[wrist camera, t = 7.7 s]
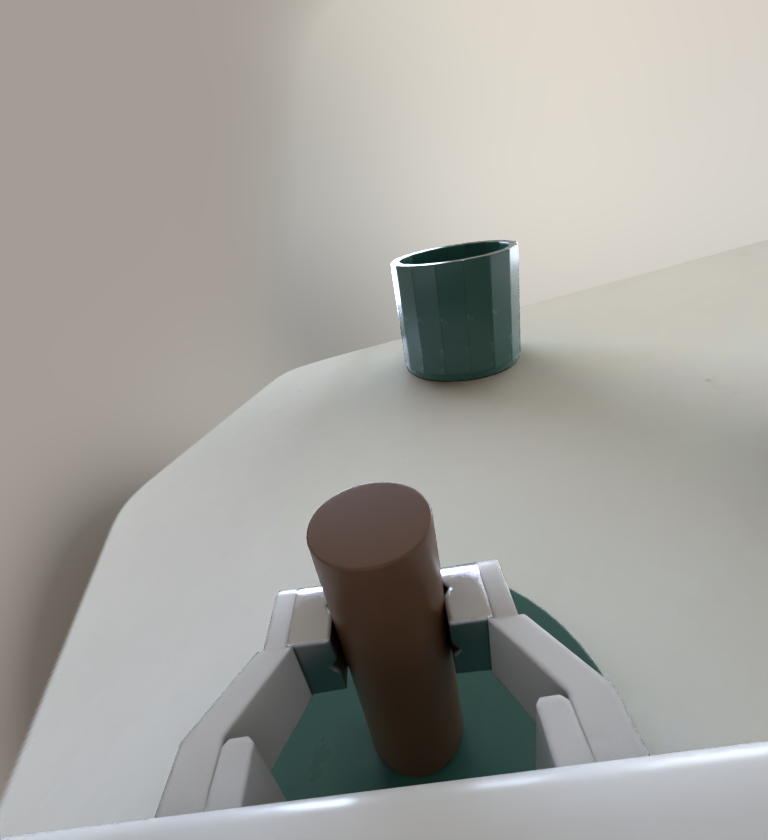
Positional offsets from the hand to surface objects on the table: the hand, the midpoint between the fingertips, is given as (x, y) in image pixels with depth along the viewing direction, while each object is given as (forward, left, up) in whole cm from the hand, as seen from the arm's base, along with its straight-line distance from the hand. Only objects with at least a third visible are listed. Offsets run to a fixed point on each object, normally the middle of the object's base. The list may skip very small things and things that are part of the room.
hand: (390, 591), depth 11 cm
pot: (0, +31, -6) cm, 32 cm away
